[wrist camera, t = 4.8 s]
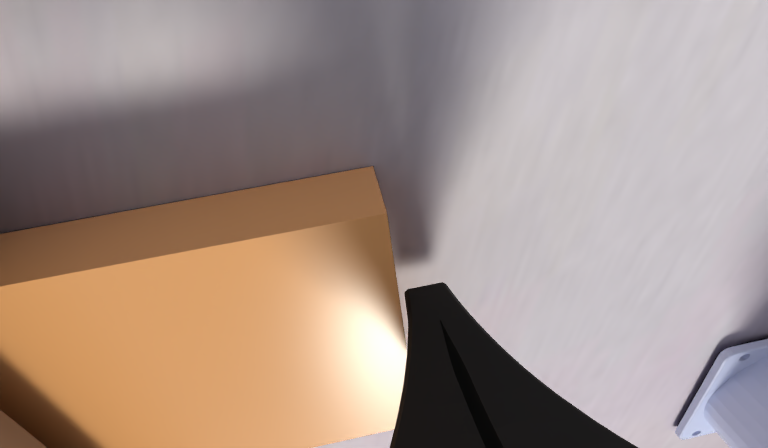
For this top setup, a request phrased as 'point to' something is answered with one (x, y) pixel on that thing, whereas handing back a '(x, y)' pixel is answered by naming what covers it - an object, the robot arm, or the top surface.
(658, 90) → the top surface
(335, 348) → the thin wooden plank
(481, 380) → the robot arm
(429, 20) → the top surface
